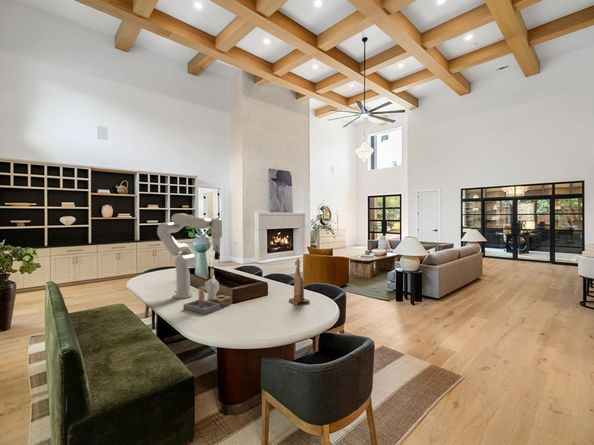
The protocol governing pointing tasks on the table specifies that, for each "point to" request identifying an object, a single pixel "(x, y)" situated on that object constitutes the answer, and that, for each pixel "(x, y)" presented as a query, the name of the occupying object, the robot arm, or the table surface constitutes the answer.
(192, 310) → the tray
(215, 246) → the robot arm
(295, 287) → the bird sculpture
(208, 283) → the shell sculpture
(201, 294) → the dowel
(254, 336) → the table surface
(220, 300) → the holder block
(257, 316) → the table surface
